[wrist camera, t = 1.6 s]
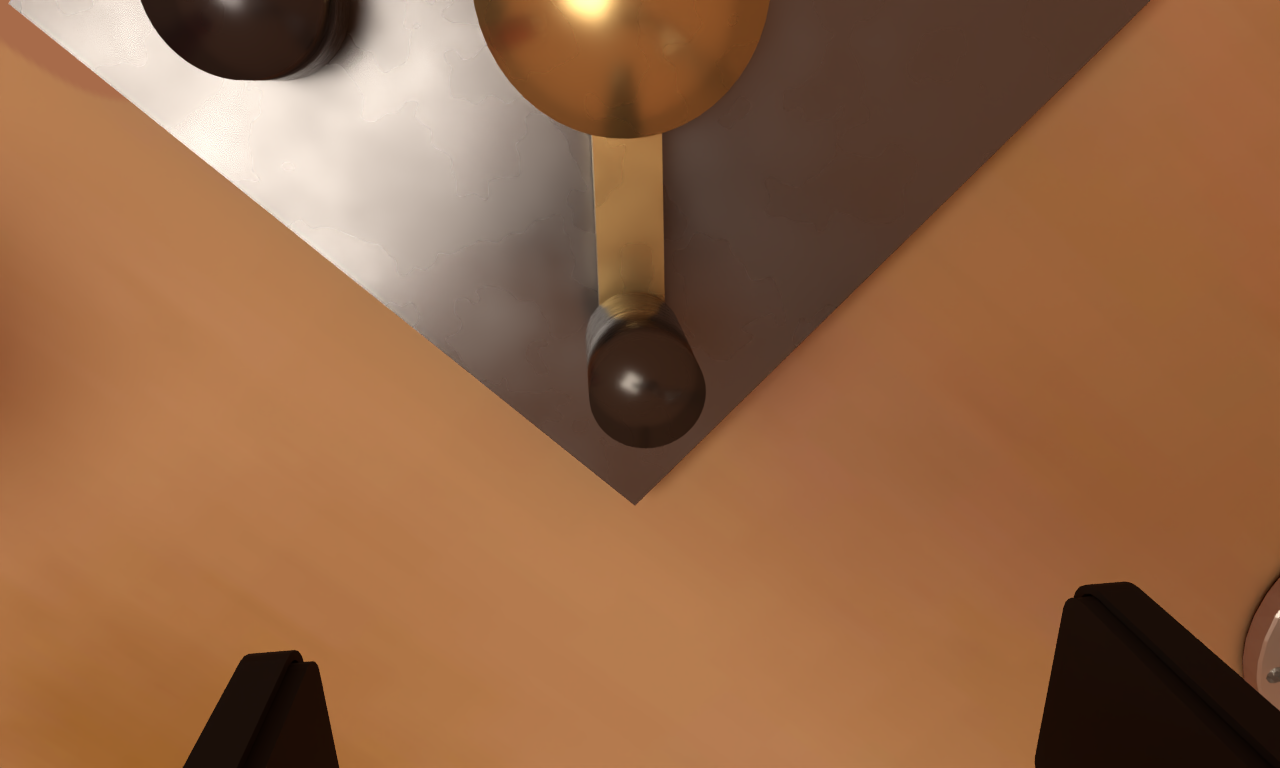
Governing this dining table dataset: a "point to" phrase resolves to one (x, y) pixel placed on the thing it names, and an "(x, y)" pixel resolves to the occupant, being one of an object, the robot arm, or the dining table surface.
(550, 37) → the crank dial
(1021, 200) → the dining table surface
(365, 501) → the dining table surface
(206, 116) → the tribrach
